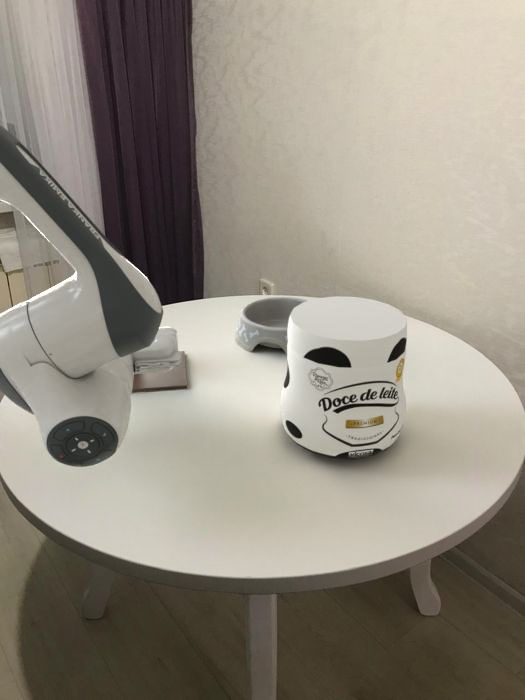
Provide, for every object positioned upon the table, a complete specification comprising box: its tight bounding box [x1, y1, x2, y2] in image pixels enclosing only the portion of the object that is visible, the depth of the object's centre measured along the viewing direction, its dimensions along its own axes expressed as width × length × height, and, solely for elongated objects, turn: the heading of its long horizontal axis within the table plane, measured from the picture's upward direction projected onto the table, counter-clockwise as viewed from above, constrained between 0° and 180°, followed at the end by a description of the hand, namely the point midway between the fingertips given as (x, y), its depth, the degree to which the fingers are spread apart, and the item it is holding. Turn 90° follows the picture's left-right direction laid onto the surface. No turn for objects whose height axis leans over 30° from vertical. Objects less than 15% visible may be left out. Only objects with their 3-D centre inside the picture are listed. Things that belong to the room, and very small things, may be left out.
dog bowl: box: [234, 296, 309, 356], centre depth 113 cm, size 17×18×5 cm
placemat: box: [132, 350, 188, 393], centre depth 100 cm, size 20×13×1 cm, turn 99°
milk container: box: [279, 295, 408, 460], centre depth 80 cm, size 17×17×18 cm
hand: (106, 328), depth 85 cm, fingers open, 8 cm apart
